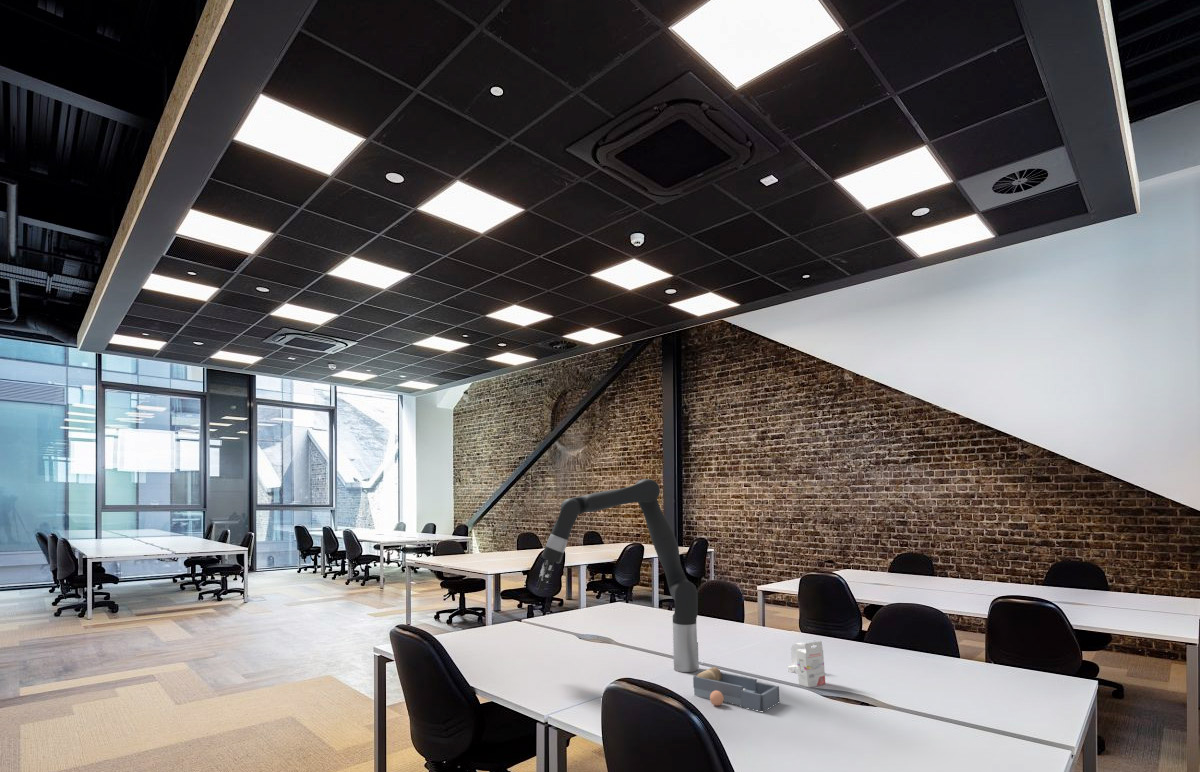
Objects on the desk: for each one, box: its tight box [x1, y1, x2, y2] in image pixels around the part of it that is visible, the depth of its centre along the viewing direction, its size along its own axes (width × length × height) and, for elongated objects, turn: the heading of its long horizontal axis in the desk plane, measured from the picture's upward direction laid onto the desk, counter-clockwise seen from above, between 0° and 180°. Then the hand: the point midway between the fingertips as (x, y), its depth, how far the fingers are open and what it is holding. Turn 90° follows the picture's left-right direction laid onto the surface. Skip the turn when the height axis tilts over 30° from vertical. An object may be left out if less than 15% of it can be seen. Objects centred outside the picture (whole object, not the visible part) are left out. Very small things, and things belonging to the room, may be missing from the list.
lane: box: [692, 671, 781, 712], centre depth 209 cm, size 12×26×6 cm, turn 50°
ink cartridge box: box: [796, 640, 826, 689], centre depth 225 cm, size 9×5×15 cm, turn 118°
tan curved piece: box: [696, 666, 722, 681], centre depth 215 cm, size 9×5×5 cm, turn 140°
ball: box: [709, 691, 724, 707], centre depth 203 cm, size 4×4×4 cm
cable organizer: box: [787, 642, 806, 675], centre depth 241 cm, size 5×10×10 cm, turn 132°
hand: (539, 589), depth 239 cm, fingers open, 8 cm apart
